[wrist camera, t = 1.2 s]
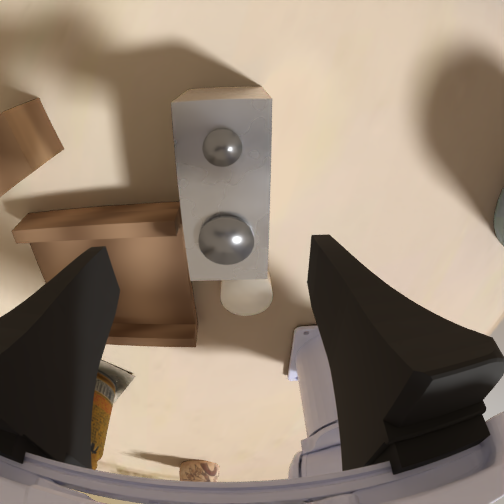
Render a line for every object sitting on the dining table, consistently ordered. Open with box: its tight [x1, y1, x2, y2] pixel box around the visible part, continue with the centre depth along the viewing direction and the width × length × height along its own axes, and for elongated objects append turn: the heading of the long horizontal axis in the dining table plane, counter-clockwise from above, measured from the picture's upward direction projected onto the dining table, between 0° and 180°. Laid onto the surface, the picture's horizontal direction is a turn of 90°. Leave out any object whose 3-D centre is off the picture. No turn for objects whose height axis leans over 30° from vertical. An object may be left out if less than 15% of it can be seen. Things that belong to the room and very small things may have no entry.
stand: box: [12, 202, 198, 347], centre depth 22 cm, size 12×11×2 cm
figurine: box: [179, 460, 220, 482], centre depth 44 cm, size 7×7×12 cm
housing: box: [171, 86, 272, 281], centre depth 16 cm, size 4×9×6 cm, turn 0°
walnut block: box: [0, 98, 64, 197], centre depth 15 cm, size 4×4×4 cm
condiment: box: [91, 360, 135, 470], centre depth 26 cm, size 7×8×12 cm
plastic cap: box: [220, 272, 273, 316], centre depth 23 cm, size 4×4×2 cm
